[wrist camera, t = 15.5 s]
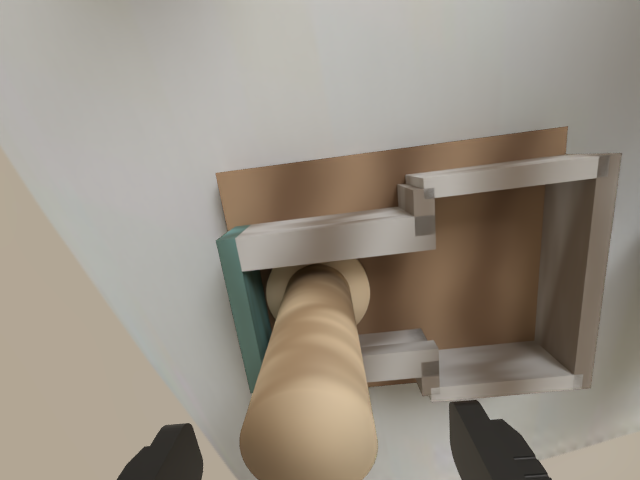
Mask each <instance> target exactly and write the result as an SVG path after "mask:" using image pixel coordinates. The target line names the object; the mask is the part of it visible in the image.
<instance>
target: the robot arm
mask: <svg viewBox="0 0 640 480" xmlns="http://www.w3.org/2000/svg"><path fill="white" fill-rule="evenodd" d="M449 420H450V445H451V450H452V455H453V458H454V462H455V465H456V467H457V470H458V472H459V475H460V477H461V479H462V480H552V479H551V478H549V477H548V474H547V472H546V470H545V469H544V467H543V466H542V465H541V463H540V462H539V460H537V459H536V457H535V454H534V453H533V451H532V450H531V449H530V447H529V446H528V444H527V443H526V441H525V440H524V438H523V437H522V436H521V435H520V434H519V433H518V432H517V431H516V430H514V429H513V428H512V427H511V426H510V425H508V424H507V423H506V422H505V421H504V420H503V419H497V420H490V419H489V417H488V416H487V414H486V412H485V411H484V409H483V407H482V406H481V404H480V403H479V402H478V401H477V400H469V401H457V402H450V404H449ZM202 473H203V459H202V455H201V452H200V449H199V446H198V443H197V439H196V436H195V433H194V430H193V427H192V425H191V424H189V423H186V424H174V425H165V426H163V427H162V428H161V430H160V431H159V432H158V434H157V436H156V437H155V439H154V440H153V442H152V444H151V445H150V446H147V447H144V448H143V449H142V450H141V451H140V452H139V453H138V454H137V455H136V456H135V457H134V458H133V459H132V460H131V461H130V462H129V463H128V464H127V465H126V466H125V468H124V469H123V471H122V472H121V474H120V475H119V477H118V479H117V480H201V478H202Z"/></svg>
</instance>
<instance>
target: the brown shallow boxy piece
mask: <svg viewBox="0 0 640 480" xmlns="http://www.w3.org/2000/svg"><path fill="white" fill-rule="evenodd" d="M567 130H568V126H567V127H559V128H552V129H544V130H536V131H529V132H521V133H514V134H506V135H499V136H491V137H484V138H476V139H469V140H461V141H454V142H446V143H439V144H431V145H424V146H416V147H409V148H401V149H393V150H386V151H378V152H371V153H363V154H356V155H348V156H341V157H333V158H326V159H318V160H311V161H303V162H296V163H288V164H281V165H273V166H266V167H258V168H250V169H243V170H235V171H228V172H220V173H216V178H217V183H218V187H219V192H220V197H221V201H222V206H223V211H224V215H225V220H226V225H227V229H228V232H227V233H226V234H224V235H223V236H222V237H220V238H219V239H218V240H216V244H217V248H218V253H219V257H220V261H221V266H222V270H223V274H224V279H225V283H226V288H227V292H228V296H229V301H230V305H231V309H232V314H233V318H234V323H235V327H236V331H237V336H238V340H239V345H240V349H241V353H242V358H243V362H244V366H245V371H246V375H247V380H248V384H249V388H250V393H253V391H254V388H255V385H256V382H257V378H258V375H259V372H260V369H261V366H262V363H263V359H264V356H265V353H266V350H267V347H268V343H269V340H270V337H271V334H272V331H273V328H274V324H275V321H276V319H275V318H274V317H273V315H272V313H271V311H270V309H269V306H268V303H267V297H266V287H267V281H268V278H269V275H270V273H271V271H272V269H273V268H278V267H287V266H296V265H304V264H313V263H322V262H330V261H339V260H348V259H357V258H358V260H359V261H360V263H361V264H362V266H363V268H364V270H365V272H366V275H367V278H368V282H369V286H370V300H369V305H368V308H367V310H366V313H365V315H364V316H363V318H362V319H361V321H360V322H359V323H358V324H357V331H358V336H359V342H360V347H361V353H362V358H363V364H364V369H365V375H366V380H367V385H368V387H374V386H384V385H395V384H406V383H417V384H418V386H419V389H420V391H421V393H422V396H428V395H429V398H430V400H431V402H440V401H451V400H462V399H474V398H485V397H496V396H508V395H519V394H530V393H541V392H553V391H564V390H575V389H587V388H591V381H592V374H593V366H594V359H595V351H596V344H597V336H598V329H599V321H600V314H601V306H602V298H603V291H604V283H605V276H606V268H607V261H608V253H609V246H610V238H611V231H612V223H613V216H614V208H615V201H616V193H617V186H618V178H619V171H620V163H621V155H622V153H608V154H566V142H567Z"/></svg>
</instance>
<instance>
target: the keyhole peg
mask: <svg viewBox="0 0 640 480" xmlns="http://www.w3.org/2000/svg"><path fill="white" fill-rule="evenodd" d="M266 297H267V303H268V306H269V309H270V311H271V313H272V315H273V317H274V318H275V319H276V321H275V324H274V328H273V331H272V334H271V337H270V340H269V343H268V347H267V350H266V353H265V356H264V359H263V363H262V366H261V369H260V372H259V375H258V378H257V382H256V385H255V388H254V391H253V394H252V397H251V401H250V404H249V407H248V410H247V413H246V417H245V420H244V423H243V426H242V429H241V433H240V451H241V455H242V458H243V460H244V462H245V464H246V466H247V467H248V469H249V470H250V472H251V473H252V474H253V475H254V476H255V477H256V478H257V479H258V480H362V479H363V478H364V477H365V476H366V475H367V474H368V473H369V471H370V470H371V468H372V466H373V465H374V463H375V460H376V457H377V451H378V440H377V435H376V429H375V424H374V418H373V413H372V407H371V402H370V396H369V391H368V385H367V380H366V375H365V369H364V364H363V358H362V353H361V347H360V342H359V336H358V331H357V324H358V323H359V322H360V321H361V319H362V318H363V316H364V315H365V313H366V310H367V308H368V305H369V300H370V286H369V282H368V278H367V275H366V272H365V270H364V268H363V266H362V264H361V263H360V261H359V260H358V258H357V259H348V260H339V261H330V262H322V263H313V264H304V265H296V266H287V267H278V268H273V269H272V271H271V273H270V275H269V278H268V281H267V287H266Z"/></svg>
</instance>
